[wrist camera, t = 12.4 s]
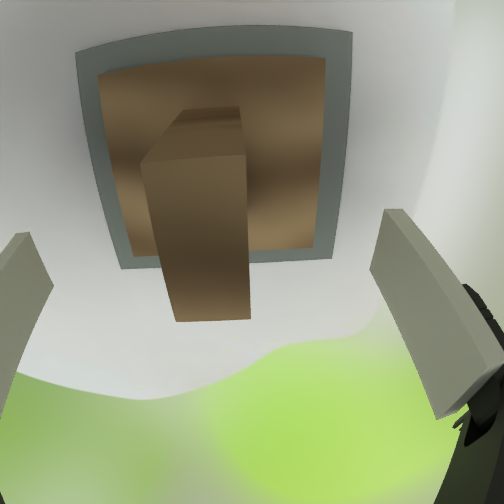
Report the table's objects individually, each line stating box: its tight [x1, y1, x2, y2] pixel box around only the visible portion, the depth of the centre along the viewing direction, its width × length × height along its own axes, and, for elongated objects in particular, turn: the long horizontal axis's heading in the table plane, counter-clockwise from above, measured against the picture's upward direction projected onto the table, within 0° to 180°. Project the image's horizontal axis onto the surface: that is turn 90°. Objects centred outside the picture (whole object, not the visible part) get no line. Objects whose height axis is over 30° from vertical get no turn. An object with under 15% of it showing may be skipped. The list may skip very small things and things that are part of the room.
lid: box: [97, 56, 326, 322], centre depth 15 cm, size 13×13×10 cm
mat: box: [75, 25, 352, 269], centre depth 19 cm, size 17×17×1 cm
